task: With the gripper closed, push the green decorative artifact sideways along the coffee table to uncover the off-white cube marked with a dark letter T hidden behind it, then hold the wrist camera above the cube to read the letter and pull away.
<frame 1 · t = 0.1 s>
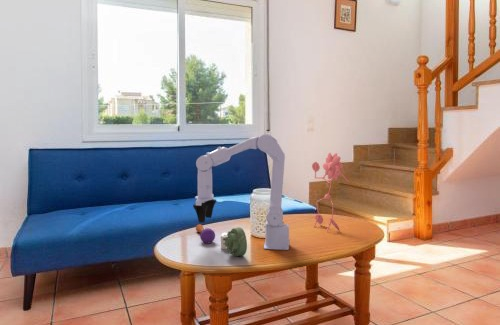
hand: (205, 219, 149), 10 cm above the table, tool pointing down, fingers open, 7 cm apart
kendama: (204, 238, 159), on the table
letter cube: (228, 247, 147), on the table
decorative artifact: (232, 256, 137), on the table
figurine: (331, 228, 175), on the table
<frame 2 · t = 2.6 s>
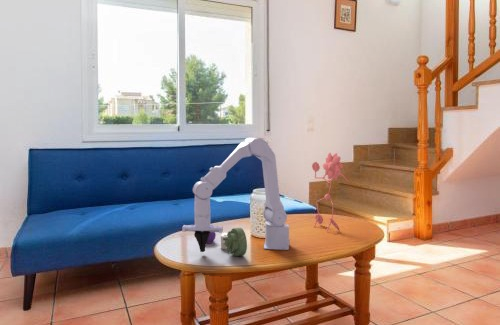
hand: (202, 251, 137), 1 cm above the table, tool pointing down, fingers closed
nothing on the table moved.
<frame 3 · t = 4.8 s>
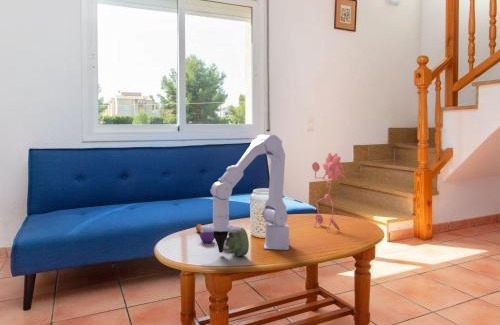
hand: (221, 251, 137), 1 cm above the table, tool pointing down, fingers closed
decorative artifact: (234, 256, 137), on the table, touching gripper
everything else where it was.
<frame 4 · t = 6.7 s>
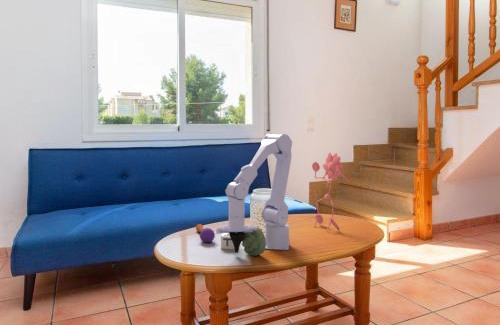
hand: (236, 252, 136), 1 cm above the table, tool pointing down, fingers closed
decorative artifact: (249, 256, 137), on the table, touching gripper
everything else where it was.
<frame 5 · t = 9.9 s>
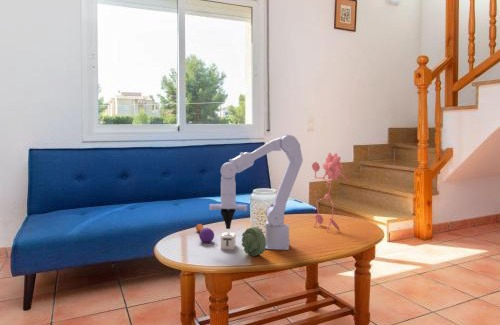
hand: (228, 228, 146), 7 cm above the table, tool pointing down, fingers closed
decorative artifact: (249, 256, 137), on the table
everything else where it was.
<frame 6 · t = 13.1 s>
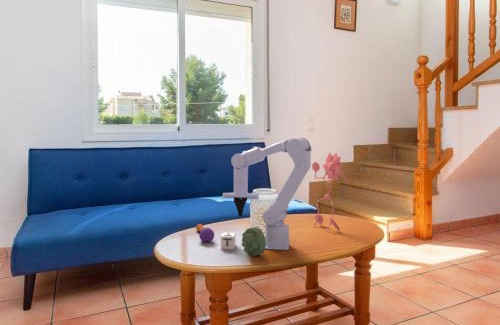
hand: (240, 215, 153), 10 cm above the table, tool pointing down, fingers closed
nothing on the table moved.
at the end: decorative artifact inside the target area (1.5 cm from its centre), on the table; decorative artifact tilted 0°; letter cube moved 0.1 cm from its start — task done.
